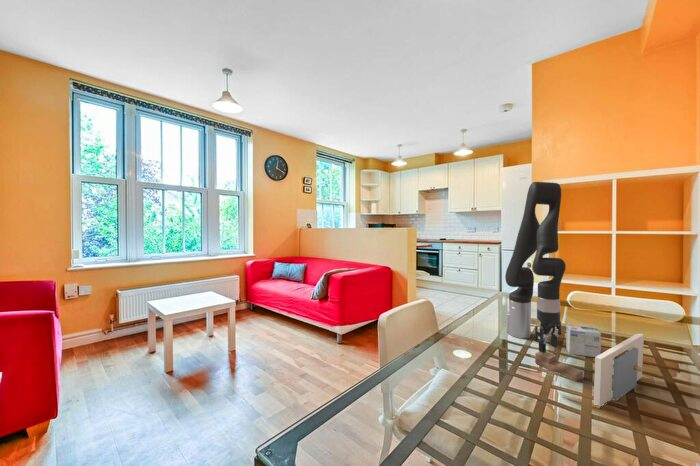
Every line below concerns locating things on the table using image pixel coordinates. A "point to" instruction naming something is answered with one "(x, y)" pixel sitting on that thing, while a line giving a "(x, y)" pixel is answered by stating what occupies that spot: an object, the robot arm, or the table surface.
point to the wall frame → (606, 365)
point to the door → (625, 373)
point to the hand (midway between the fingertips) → (548, 349)
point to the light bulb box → (583, 340)
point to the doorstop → (557, 366)
